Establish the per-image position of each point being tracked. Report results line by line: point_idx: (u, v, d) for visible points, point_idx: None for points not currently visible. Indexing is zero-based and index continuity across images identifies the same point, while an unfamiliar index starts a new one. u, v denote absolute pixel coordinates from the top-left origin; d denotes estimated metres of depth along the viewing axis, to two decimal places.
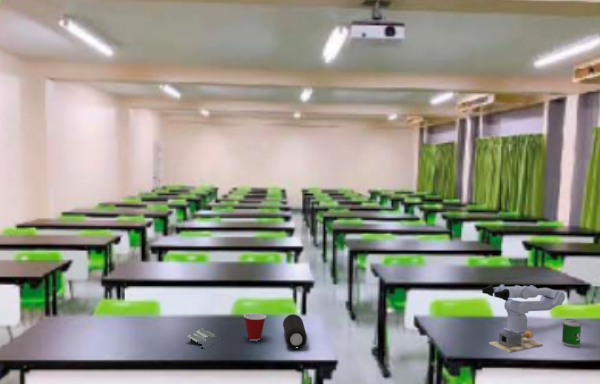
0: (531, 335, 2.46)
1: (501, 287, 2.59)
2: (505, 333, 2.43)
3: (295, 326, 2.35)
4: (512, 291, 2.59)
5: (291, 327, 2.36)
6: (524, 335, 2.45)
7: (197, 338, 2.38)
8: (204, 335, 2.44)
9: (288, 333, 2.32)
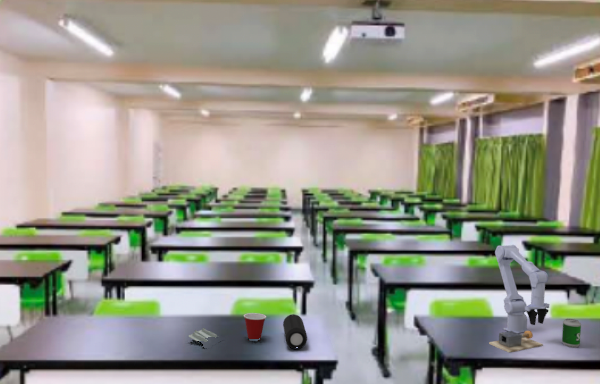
0: (531, 335, 2.46)
1: None
2: (505, 333, 2.43)
3: (295, 326, 2.35)
4: None
5: (291, 327, 2.36)
6: (524, 335, 2.45)
7: (199, 338, 2.38)
8: (206, 335, 2.44)
9: (288, 333, 2.32)
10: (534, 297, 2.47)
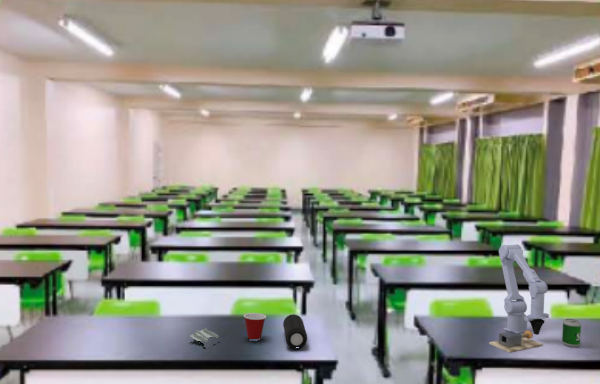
0: (531, 335, 2.46)
1: None
2: (505, 333, 2.43)
3: (295, 326, 2.35)
4: None
5: (291, 327, 2.36)
6: (524, 335, 2.45)
7: (199, 338, 2.38)
8: (207, 335, 2.44)
9: (288, 333, 2.32)
10: (533, 307, 2.47)
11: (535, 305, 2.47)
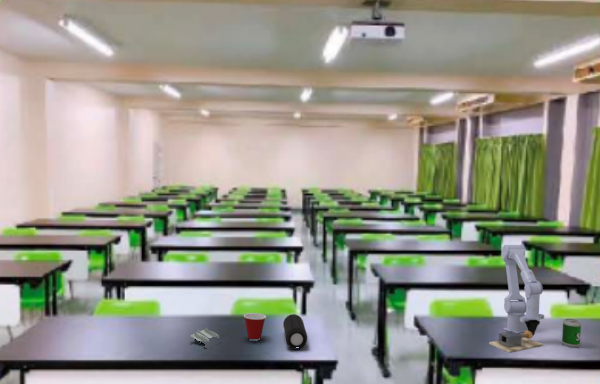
0: (531, 335, 2.46)
1: None
2: (505, 333, 2.43)
3: (295, 326, 2.35)
4: None
5: (291, 327, 2.36)
6: (524, 335, 2.45)
7: (200, 338, 2.38)
8: (208, 335, 2.44)
9: (288, 333, 2.32)
10: (529, 308, 2.46)
11: (529, 305, 2.46)
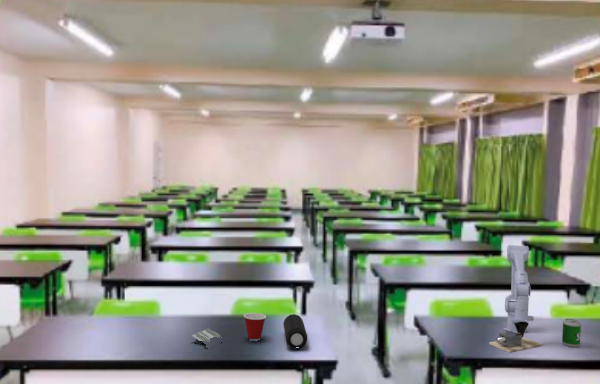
0: None
1: None
2: (505, 333, 2.43)
3: (295, 326, 2.35)
4: None
5: (291, 327, 2.36)
6: None
7: (202, 338, 2.38)
8: (210, 335, 2.44)
9: (289, 333, 2.32)
10: (518, 310, 2.43)
11: (516, 307, 2.44)
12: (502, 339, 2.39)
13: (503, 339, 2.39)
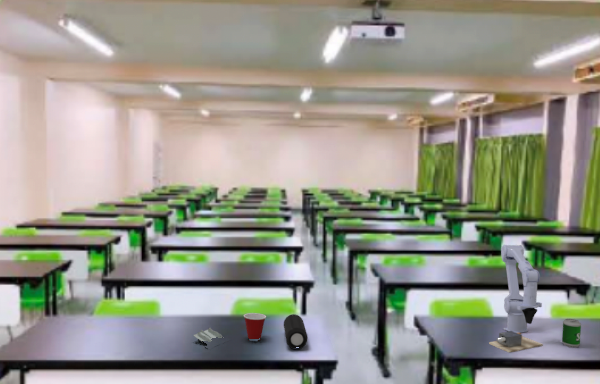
0: None
1: None
2: (505, 333, 2.43)
3: (296, 326, 2.35)
4: None
5: (292, 327, 2.36)
6: None
7: (203, 338, 2.39)
8: (211, 335, 2.44)
9: (289, 333, 2.32)
10: (526, 296, 2.45)
11: (526, 293, 2.45)
12: (502, 339, 2.39)
13: (503, 339, 2.39)
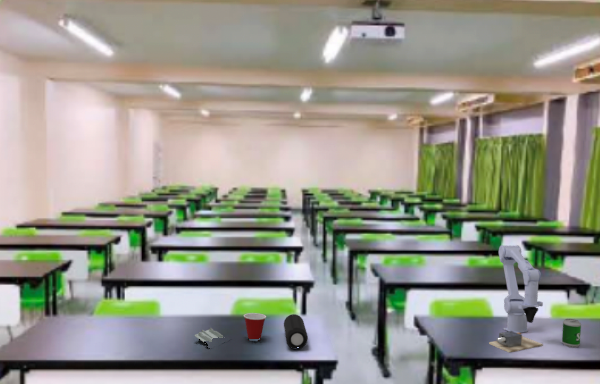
0: None
1: None
2: (505, 333, 2.43)
3: (296, 326, 2.35)
4: None
5: (292, 327, 2.36)
6: None
7: (204, 338, 2.39)
8: (212, 335, 2.44)
9: (289, 333, 2.32)
10: (527, 295, 2.46)
11: (527, 293, 2.46)
12: (502, 339, 2.39)
13: (503, 339, 2.39)
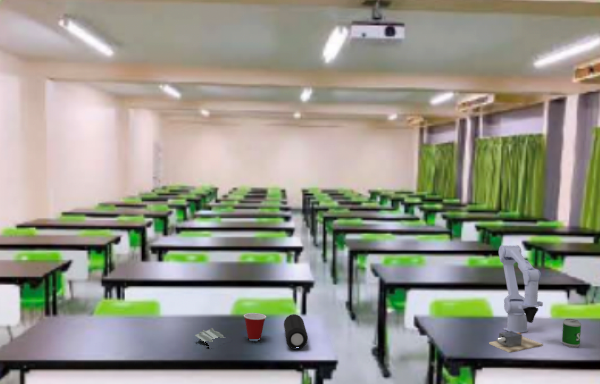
0: None
1: None
2: (505, 333, 2.43)
3: (296, 326, 2.35)
4: None
5: (292, 327, 2.36)
6: None
7: (204, 338, 2.39)
8: (213, 335, 2.44)
9: (289, 333, 2.32)
10: (527, 295, 2.46)
11: (527, 293, 2.46)
12: (502, 339, 2.39)
13: (503, 339, 2.39)
